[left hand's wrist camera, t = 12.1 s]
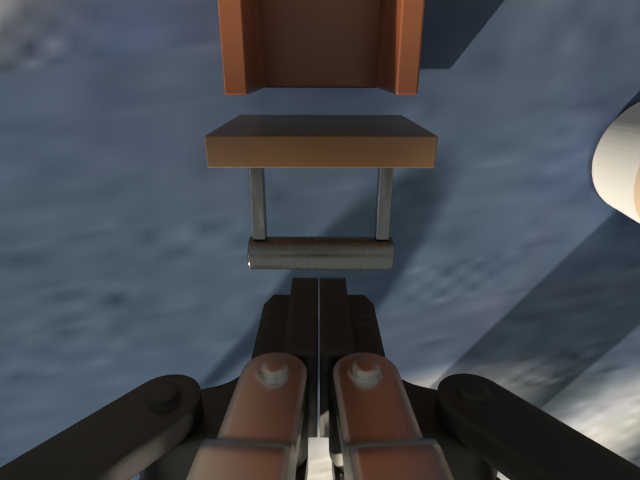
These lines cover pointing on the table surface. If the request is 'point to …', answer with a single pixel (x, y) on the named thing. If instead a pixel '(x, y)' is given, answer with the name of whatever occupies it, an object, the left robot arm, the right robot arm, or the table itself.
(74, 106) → the table surface
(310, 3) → the drawer
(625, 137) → the coffee cup
